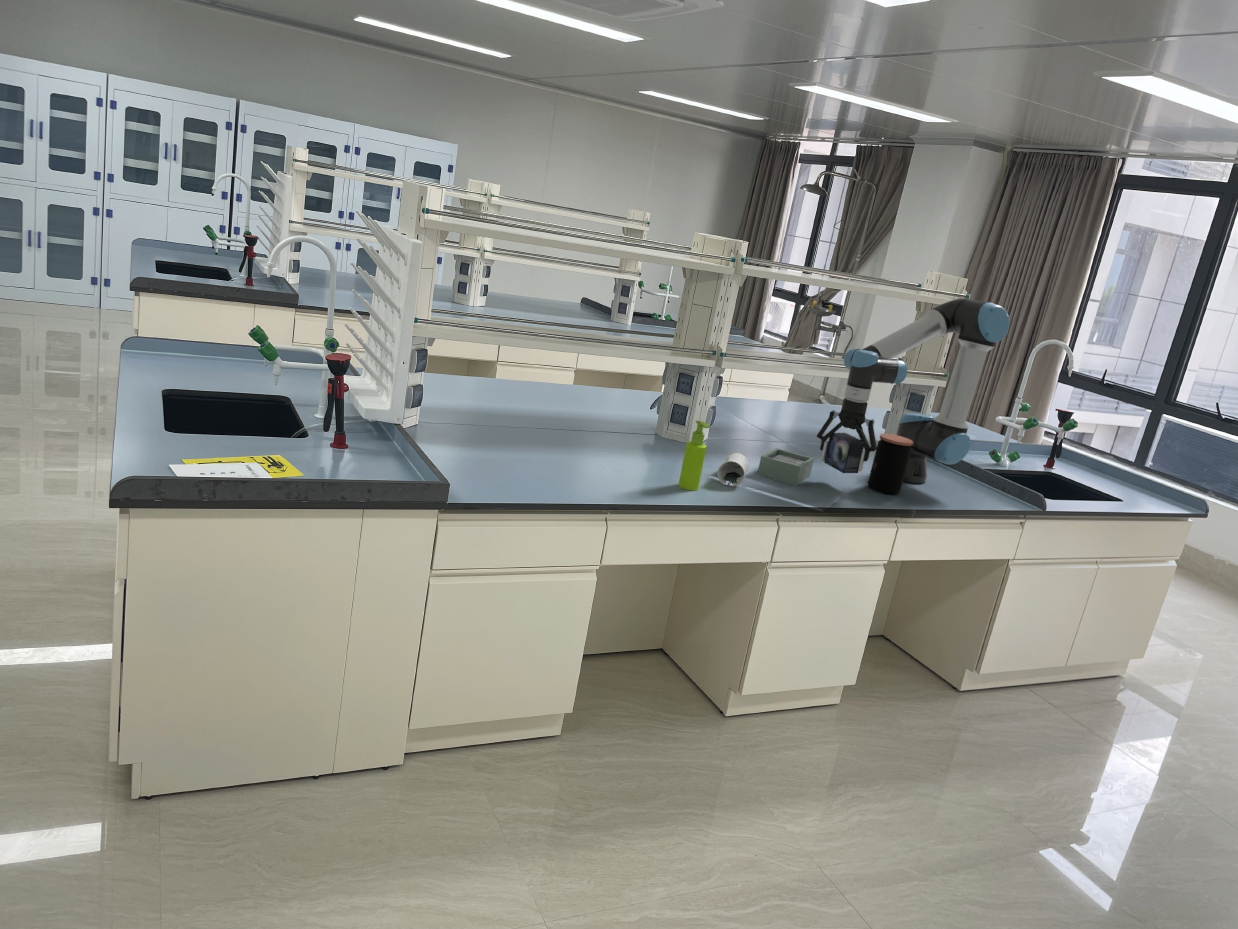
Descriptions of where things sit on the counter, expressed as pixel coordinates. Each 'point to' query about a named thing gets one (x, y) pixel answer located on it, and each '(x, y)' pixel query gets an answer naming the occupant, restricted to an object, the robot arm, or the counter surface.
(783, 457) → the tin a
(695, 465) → the soap dispenser
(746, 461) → the white bottle
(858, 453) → the small box
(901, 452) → the coffee jar
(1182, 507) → the counter surface
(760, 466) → the box
